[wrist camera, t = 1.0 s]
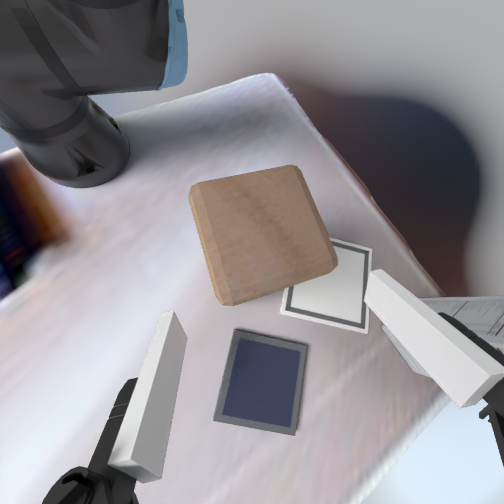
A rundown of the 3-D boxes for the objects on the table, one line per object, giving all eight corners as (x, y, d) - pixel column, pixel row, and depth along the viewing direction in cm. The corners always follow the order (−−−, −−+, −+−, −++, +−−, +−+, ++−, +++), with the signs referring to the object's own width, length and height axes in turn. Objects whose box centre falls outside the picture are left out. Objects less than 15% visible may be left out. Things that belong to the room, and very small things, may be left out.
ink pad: (233, 329, 31) (234, 330, 30) (304, 345, 32) (307, 346, 30) (213, 416, 27) (212, 422, 26) (292, 431, 28) (295, 437, 27)
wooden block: (259, 235, 36) (300, 157, 16) (277, 287, 34) (348, 267, 14) (206, 249, 34) (183, 179, 14) (222, 305, 32) (219, 311, 12)
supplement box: (413, 373, 33) (593, 441, 17) (378, 326, 34) (515, 348, 18) (444, 338, 35) (628, 369, 19) (411, 296, 37) (557, 291, 21)
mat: (294, 228, 37) (295, 227, 36) (370, 249, 38) (372, 248, 38) (279, 313, 32) (280, 313, 32) (366, 333, 34) (368, 334, 33)
